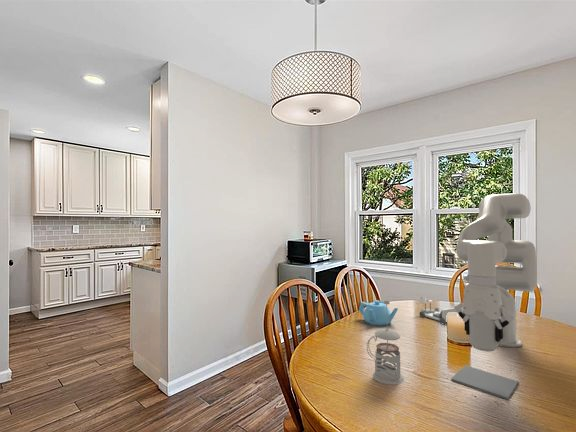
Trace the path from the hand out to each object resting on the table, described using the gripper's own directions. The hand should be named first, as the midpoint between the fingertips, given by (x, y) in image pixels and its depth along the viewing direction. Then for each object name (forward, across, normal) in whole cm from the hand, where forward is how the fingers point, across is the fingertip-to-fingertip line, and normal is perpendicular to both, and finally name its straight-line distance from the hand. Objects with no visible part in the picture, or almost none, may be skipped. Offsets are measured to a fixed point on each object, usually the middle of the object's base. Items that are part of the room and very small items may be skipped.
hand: (483, 336), depth 97 cm
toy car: (+14, -36, +56) cm, 69 cm away
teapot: (+14, -54, +28) cm, 63 cm away
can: (+4, 0, 0) cm, 4 cm away
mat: (+14, 0, 0) cm, 14 cm away
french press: (+14, -24, -19) cm, 33 cm away
